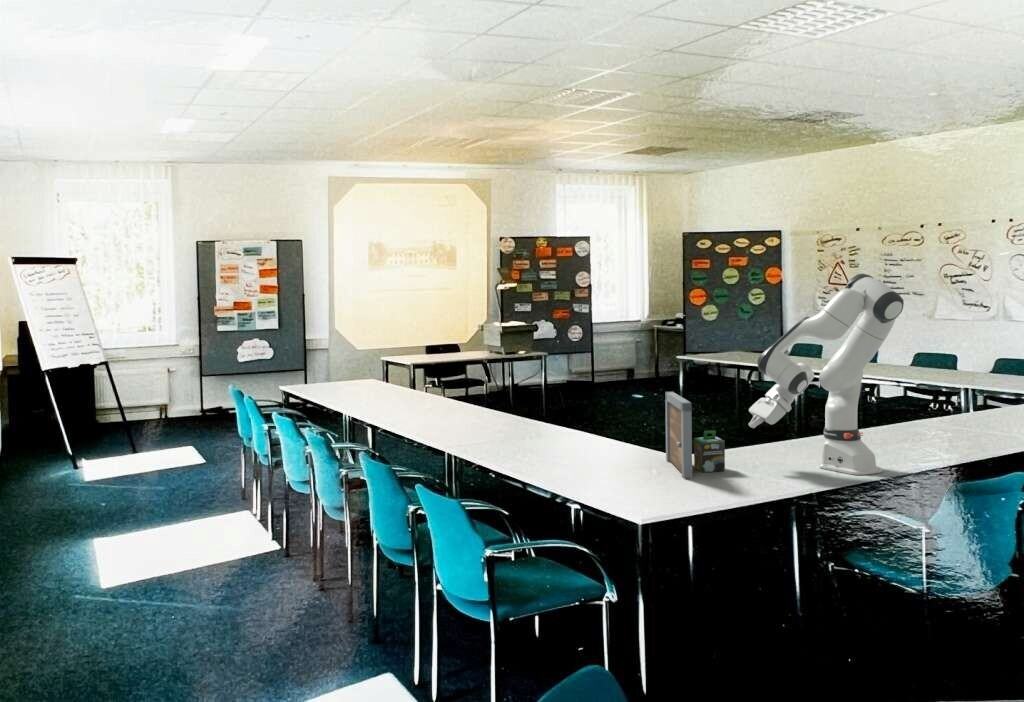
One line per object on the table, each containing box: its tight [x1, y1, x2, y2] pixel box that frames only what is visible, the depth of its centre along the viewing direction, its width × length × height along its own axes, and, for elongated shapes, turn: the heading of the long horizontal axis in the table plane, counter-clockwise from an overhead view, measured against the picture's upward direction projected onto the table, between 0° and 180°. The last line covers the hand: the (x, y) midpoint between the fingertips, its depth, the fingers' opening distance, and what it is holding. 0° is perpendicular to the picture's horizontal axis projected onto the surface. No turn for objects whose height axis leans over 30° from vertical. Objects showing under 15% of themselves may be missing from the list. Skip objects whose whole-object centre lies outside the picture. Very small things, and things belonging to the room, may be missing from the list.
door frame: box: [664, 391, 693, 479], centre depth 304 cm, size 3×32×27 cm, turn 0°
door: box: [670, 403, 682, 474], centre depth 304 cm, size 3×24×23 cm, turn 0°
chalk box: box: [693, 429, 726, 473], centre depth 302 cm, size 9×9×15 cm
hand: (750, 426), depth 301 cm, fingers closed
